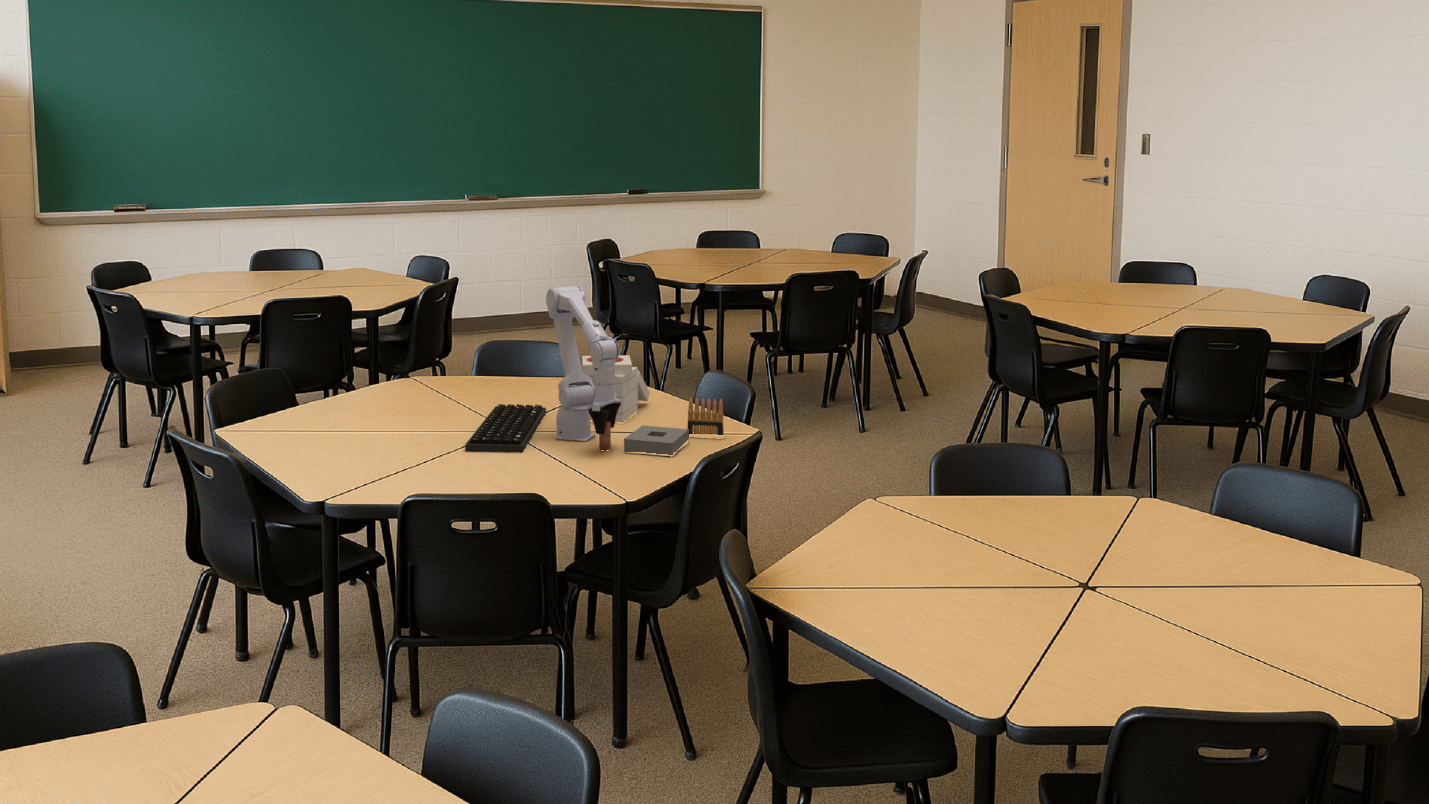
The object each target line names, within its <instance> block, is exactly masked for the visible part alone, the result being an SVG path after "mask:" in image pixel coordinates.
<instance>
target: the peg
mask: <svg viewBox="0 0 1429 804" xmlns="http://www.w3.org/2000/svg"><path fill="white" fill-rule="evenodd" d="M611 432H612V428H611V422H609V421H606V426H605V433H604V434H603V435H601V434H598V438H599V439H598V443H599V444H598V450H599V449H600V450H604V451H606V450H609V449H611V450H612V448H611V447H612V446H611V444H612V438H611V437H612V435H611Z"/></svg>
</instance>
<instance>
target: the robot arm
mask: <svg viewBox="0 0 1429 804" xmlns="http://www.w3.org/2000/svg"><path fill="white" fill-rule="evenodd" d="M545 302H546V306H547V308H546V309H547V312H548V316H549V318H551V319H552V320H553V324H554V328H555V334H556V337H557V338H556V339H557V343H558V347H559V353H560V357H561V362H562V366H563V367H562V368H563V371H564V377H563V378H562V379H561V380H560V381H559V383H558V384H557V388H558V401H559V404H560V405H561V406H560V407H559V408H558V409H557V412H556V422H555V423H556V427H555V428H556V436H555V439H556V440H565V441H574V440H578V441H577V442H586V441H585V440H587V441H589V440H590V439H591V438H590V437H592V438H593V437H595V436H596V435H599V434H601V435H603V434H604V433H605V426H606V421H609V422H611V429H614V428H615V425H616V424H615V419H616V415H617V412H618V409H619V407H620V405H621V402H619V399H617V394H616V393H615V360H616V359H617V358H618V356H619V355H620V347H619V346H620V345H619V343H618V341H617V340H616V339H615V338H612V337H611V336H608V334H607V333H606V331H605V330H604V328H603V327H602V325H601V323H600V322H599V320H594V319H593V317H592V315H591V312H590V310H589V309H588V307H587V305H586V293H585V290H584V288H583V286H581V285H579V284H577V285H571V286H570V285H568V286H558V287H557V286H551V287H549V288H548V290H547V292H546V297H545ZM574 318H575V319H576V321H577V322H578V323H579V324H580V325H581V329H580V330H581V331H580V332H581V335H582V336H583V337H584V339H585V341H586V343H587V344H588V346H589V347H590V349H589V354H590V355H589V356H591V358H592V365H593V367H594V385H593V382H592V379H591V378H590V377H589V376H587V375H585V374H584V373H583V372H582V370H583V367H582V364H581V359H580V354H579V349H578V346H577V343H578V342H577V339H576V334H575V330H574V326H573V319H574ZM590 416H591V418H592V420H593V422H592V423H593V425H594V430H595V433H594V432H592V431H591V422H590ZM594 435H595V436H594ZM589 438H590V439H589ZM588 439H589V440H588ZM580 440H581V441H580Z"/></svg>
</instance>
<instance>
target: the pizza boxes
mask: <svg viewBox="0 0 1429 804" xmlns="http://www.w3.org/2000/svg"><path fill="white" fill-rule="evenodd" d="M581 359H582V360H581V361H582V364H581V367H582V372H583V373H584V374H585V375H587V376H589V377H590V378H591V379H592V382H593V385H594V367H593V365H592V358H591V355H582V358H581ZM638 369H639V368H638V367H637V366H633V364H632V360H631V356H630V355H625V354H624V355H620V354H619V356H618V358H617V359H616V360H615V393H616V394H617V399H619V402H621V405H620V407H619V409H618V412H617V415H616V419H615V422H622V423H623V422H624V421H625V420H627V419H628V418H629V417H630V416H631V415H632V414H634V413H635V412H636V411H638V409H639V408H638V404H639V403H638V401H639V402H649V397H650V390H649V389H648V387H647V383H646V382H645V380H644V378H643V376H642V374H641V372H640V370H638ZM590 420H592V418H591V416H590Z"/></svg>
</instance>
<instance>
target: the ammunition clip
mask: <svg viewBox="0 0 1429 804" xmlns="http://www.w3.org/2000/svg"><path fill="white" fill-rule="evenodd" d="M699 403H700V404H699ZM705 403H706V404H705ZM711 403H712V404H711ZM717 403H718V404H717ZM686 427H687V428H686V429H689V434H692V433H693V432H694V434H699V433H700V434H705V433H706V434H718V435H723V434H724V404H723V399H722V398H720V399H719V402H717V399H716V398H714V399H713V401H712V402H711V398H708V399H707V402H706V401H705V397H702V398H701V402H700V401H699V398H698V397H696V398H695V402H694V403H693V398H692V397H690V398H689V402H688V410H687V426H686Z"/></svg>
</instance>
